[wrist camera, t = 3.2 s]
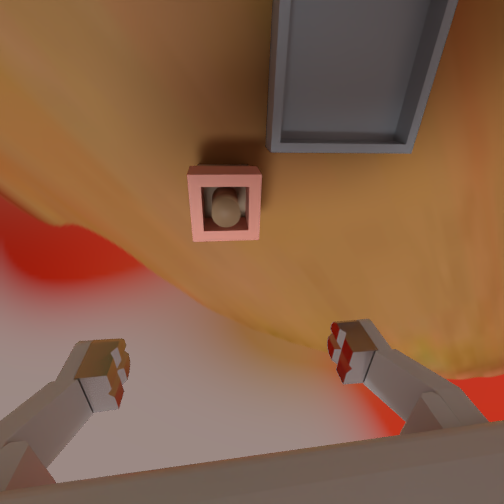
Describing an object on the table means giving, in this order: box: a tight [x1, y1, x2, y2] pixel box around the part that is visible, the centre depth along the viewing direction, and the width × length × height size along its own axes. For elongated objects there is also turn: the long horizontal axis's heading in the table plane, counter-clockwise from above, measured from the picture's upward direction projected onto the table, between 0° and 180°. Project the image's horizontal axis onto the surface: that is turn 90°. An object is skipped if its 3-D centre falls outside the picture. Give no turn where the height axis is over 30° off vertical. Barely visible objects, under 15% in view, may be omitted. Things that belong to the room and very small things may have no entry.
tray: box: [265, 0, 458, 153], centre depth 23 cm, size 14×14×3 cm
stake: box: [198, 164, 249, 227], centre depth 25 cm, size 5×5×7 cm
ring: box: [187, 166, 262, 242], centre depth 25 cm, size 6×6×3 cm
